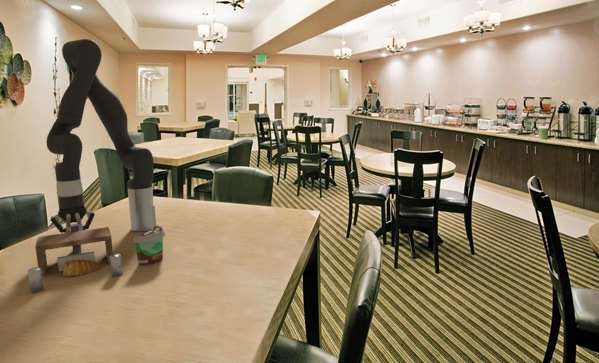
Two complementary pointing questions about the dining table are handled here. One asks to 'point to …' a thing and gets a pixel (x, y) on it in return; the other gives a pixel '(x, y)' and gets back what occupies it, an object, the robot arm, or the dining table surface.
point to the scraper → (75, 253)
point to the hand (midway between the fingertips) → (76, 242)
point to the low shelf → (71, 243)
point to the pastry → (79, 267)
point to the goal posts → (37, 280)
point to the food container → (150, 246)
